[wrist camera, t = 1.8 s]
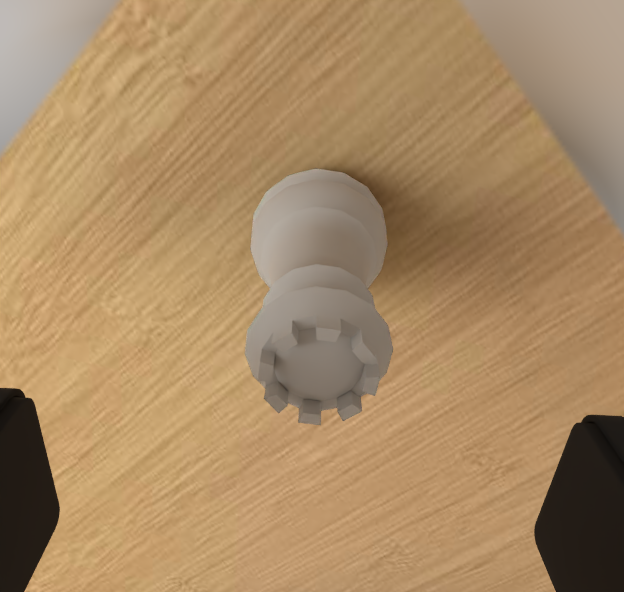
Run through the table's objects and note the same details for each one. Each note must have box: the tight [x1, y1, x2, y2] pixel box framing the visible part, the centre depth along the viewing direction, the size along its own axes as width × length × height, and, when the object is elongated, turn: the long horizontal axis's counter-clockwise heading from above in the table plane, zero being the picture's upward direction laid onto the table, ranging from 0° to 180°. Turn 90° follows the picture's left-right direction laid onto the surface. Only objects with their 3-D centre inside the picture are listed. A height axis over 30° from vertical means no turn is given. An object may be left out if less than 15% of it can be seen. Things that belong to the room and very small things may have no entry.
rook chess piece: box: [245, 169, 393, 425], centre depth 14 cm, size 4×4×8 cm
